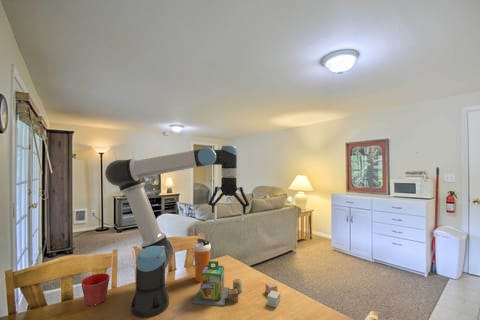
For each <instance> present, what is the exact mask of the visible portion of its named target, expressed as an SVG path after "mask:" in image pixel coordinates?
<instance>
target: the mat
mask: <svg viewBox="0 0 480 320" xmlns="http://www.w3.org/2000/svg"><path fill="white" fill-rule="evenodd" d="M228 289H231V288H230V287H228V286H227V287H226V286H224V290H223V293H222V297H221V300H220V301H219V300H207V299H200V297H201V286H200V288H199V289H198V291H197V292H196V294H195V297H194V299H192V304H193V305H202V306H204V305H206V306H215V307H216V306H217V307H225V305H226V302H227V299H228Z"/></svg>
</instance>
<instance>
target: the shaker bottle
mask: <svg viewBox="0 0 480 320" xmlns="http://www.w3.org/2000/svg"><path fill="white" fill-rule="evenodd" d="M196 241H197V242H195V243H194V245H193V253H194V279H195V281H196V282H199V283H201V273H202V271H203V269H204V268H205V266H206V265H208V262H209V261H211V248H212V247H211V246H212V245H211V243H210V241H209V240H206V239H204V238H197V239H196Z"/></svg>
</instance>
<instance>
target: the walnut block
mask: <svg viewBox="0 0 480 320" xmlns="http://www.w3.org/2000/svg"><path fill="white" fill-rule="evenodd" d="M227 299H228V304H235V303H237V304H238V303H239V294H238V291H237V289H233V288H230V289H228V296H227Z"/></svg>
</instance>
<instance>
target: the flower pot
mask: <svg viewBox="0 0 480 320" xmlns="http://www.w3.org/2000/svg"><path fill="white" fill-rule="evenodd" d="M80 283H81V284H80V285H81V289H82V295H83V299H84V303H85V304H84V305H86V306H87V305H94V306H96V305H95V304H98V305H99V303H100V304H102V303H103V302H105V301H106V299H107V294H108V289H109V283H110V274H108V273H105V272H104V273H103V272H101V273H94V274H92V275H88V276H86V277H84V279H82V280H81V282H80ZM101 302H102V303H101Z"/></svg>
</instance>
